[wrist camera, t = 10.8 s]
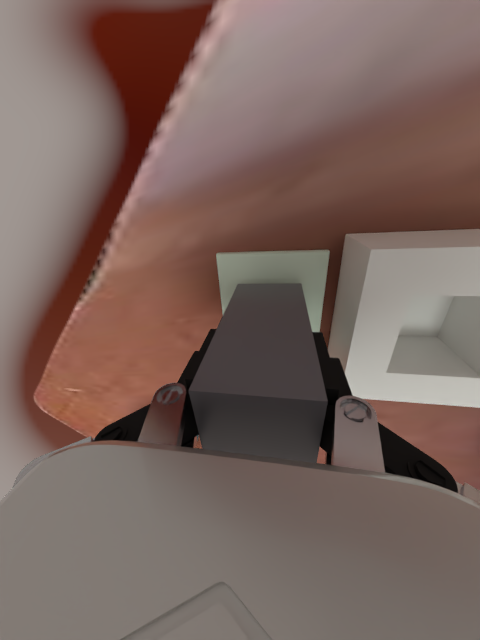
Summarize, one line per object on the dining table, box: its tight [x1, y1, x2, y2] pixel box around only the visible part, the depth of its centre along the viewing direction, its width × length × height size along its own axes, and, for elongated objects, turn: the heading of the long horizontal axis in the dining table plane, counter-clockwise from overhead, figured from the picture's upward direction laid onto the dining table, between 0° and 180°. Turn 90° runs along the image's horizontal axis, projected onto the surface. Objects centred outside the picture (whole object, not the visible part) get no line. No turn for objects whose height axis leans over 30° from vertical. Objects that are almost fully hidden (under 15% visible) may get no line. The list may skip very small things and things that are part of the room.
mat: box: [216, 250, 330, 332], centre depth 18 cm, size 8×8×1 cm
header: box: [328, 229, 480, 408], centre depth 15 cm, size 10×10×5 cm
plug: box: [188, 283, 328, 463], centre depth 12 cm, size 4×4×10 cm
